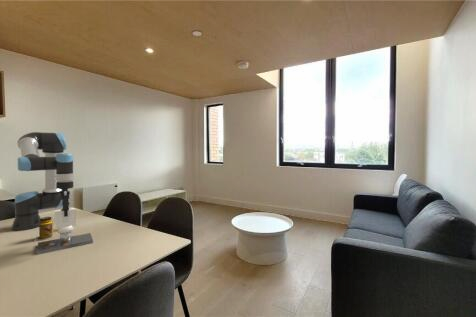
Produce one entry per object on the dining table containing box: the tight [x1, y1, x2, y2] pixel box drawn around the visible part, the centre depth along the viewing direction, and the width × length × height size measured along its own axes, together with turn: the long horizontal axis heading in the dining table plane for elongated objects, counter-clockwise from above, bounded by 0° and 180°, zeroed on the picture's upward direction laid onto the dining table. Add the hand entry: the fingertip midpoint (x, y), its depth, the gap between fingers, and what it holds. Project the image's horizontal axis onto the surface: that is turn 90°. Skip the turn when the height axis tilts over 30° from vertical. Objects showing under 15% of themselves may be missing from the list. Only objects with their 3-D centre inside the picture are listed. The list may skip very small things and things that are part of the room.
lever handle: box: [53, 207, 77, 234], centre depth 125 cm, size 10×7×12 cm
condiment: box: [33, 216, 55, 242], centre depth 135 cm, size 7×8×12 cm
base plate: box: [35, 231, 94, 255], centre depth 126 cm, size 14×24×7 cm, turn 128°
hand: (65, 219), depth 126 cm, fingers open, 13 cm apart
